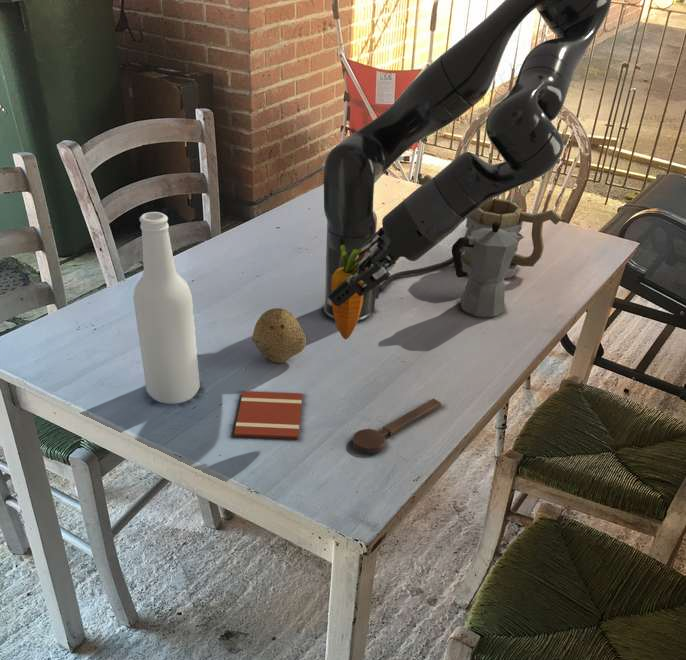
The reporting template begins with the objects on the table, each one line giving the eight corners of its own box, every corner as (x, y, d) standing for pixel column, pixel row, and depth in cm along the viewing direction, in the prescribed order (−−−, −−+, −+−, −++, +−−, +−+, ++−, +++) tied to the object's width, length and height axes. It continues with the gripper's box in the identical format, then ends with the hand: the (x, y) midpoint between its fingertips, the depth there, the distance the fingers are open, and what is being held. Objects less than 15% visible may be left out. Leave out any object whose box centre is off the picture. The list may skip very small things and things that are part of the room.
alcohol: (140, 403, 124) (114, 226, 106) (153, 375, 131) (131, 203, 112) (194, 407, 124) (177, 230, 105) (204, 378, 131) (190, 207, 112)
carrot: (328, 331, 119) (331, 239, 110) (359, 330, 120) (365, 239, 110) (330, 347, 115) (333, 253, 106) (363, 346, 116) (369, 253, 106)
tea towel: (302, 395, 128) (302, 393, 128) (297, 438, 119) (297, 436, 118) (243, 393, 128) (242, 390, 128) (233, 436, 119) (233, 433, 118)
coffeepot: (498, 293, 161) (514, 210, 150) (521, 313, 154) (539, 228, 143) (433, 302, 157) (444, 217, 146) (453, 323, 150) (466, 236, 139)
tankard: (452, 272, 168) (461, 206, 159) (466, 251, 177) (476, 187, 168) (541, 291, 163) (557, 223, 153) (552, 268, 172) (567, 203, 163)
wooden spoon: (425, 398, 129) (426, 393, 128) (448, 411, 126) (449, 406, 126) (346, 443, 118) (346, 437, 118) (368, 458, 116) (369, 452, 115)
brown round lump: (243, 355, 137) (241, 305, 131) (284, 342, 142) (284, 293, 135) (270, 378, 132) (269, 327, 126) (312, 364, 136) (313, 314, 130)
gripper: (407, 181, 109) (322, 254, 117) (404, 218, 98) (310, 297, 106) (440, 220, 112) (355, 288, 120) (441, 260, 101) (347, 333, 109)
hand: (335, 292), depth 113 cm, fingers closed on carrot, 5 cm apart
